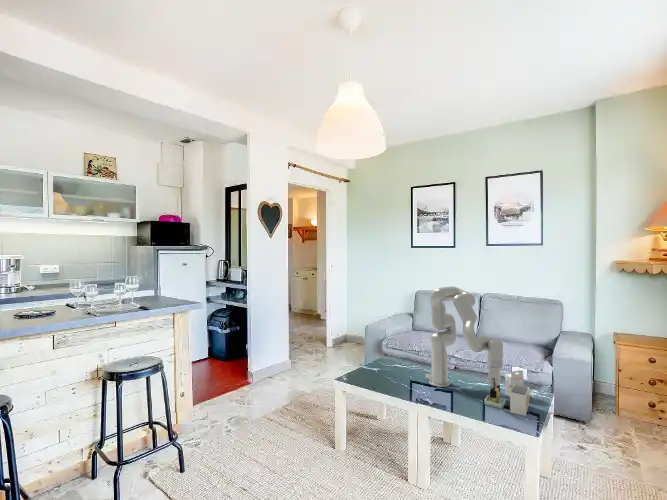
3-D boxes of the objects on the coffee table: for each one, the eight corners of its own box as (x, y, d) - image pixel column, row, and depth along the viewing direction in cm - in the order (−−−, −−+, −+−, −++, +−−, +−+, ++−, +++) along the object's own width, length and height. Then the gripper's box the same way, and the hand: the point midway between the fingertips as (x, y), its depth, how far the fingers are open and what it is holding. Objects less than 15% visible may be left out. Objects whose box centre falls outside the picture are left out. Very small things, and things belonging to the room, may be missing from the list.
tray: (484, 404, 195) (484, 400, 195) (487, 398, 203) (487, 395, 203) (502, 408, 190) (502, 404, 190) (505, 402, 198) (505, 398, 198)
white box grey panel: (510, 412, 186) (510, 391, 186) (514, 402, 198) (514, 383, 198) (526, 416, 182) (526, 395, 182) (529, 406, 193) (529, 386, 193)
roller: (490, 403, 196) (490, 388, 196) (491, 400, 199) (491, 385, 199) (498, 404, 194) (498, 389, 194) (499, 401, 197) (499, 387, 197)
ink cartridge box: (517, 392, 211) (517, 367, 211) (523, 396, 206) (523, 370, 206) (504, 394, 209) (504, 368, 209) (511, 397, 204) (511, 371, 204)
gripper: (490, 357, 206) (490, 388, 206) (484, 366, 191) (484, 398, 191) (505, 360, 201) (505, 391, 202) (499, 368, 187) (499, 401, 187)
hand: (494, 394), depth 197 cm, fingers open, 9 cm apart
